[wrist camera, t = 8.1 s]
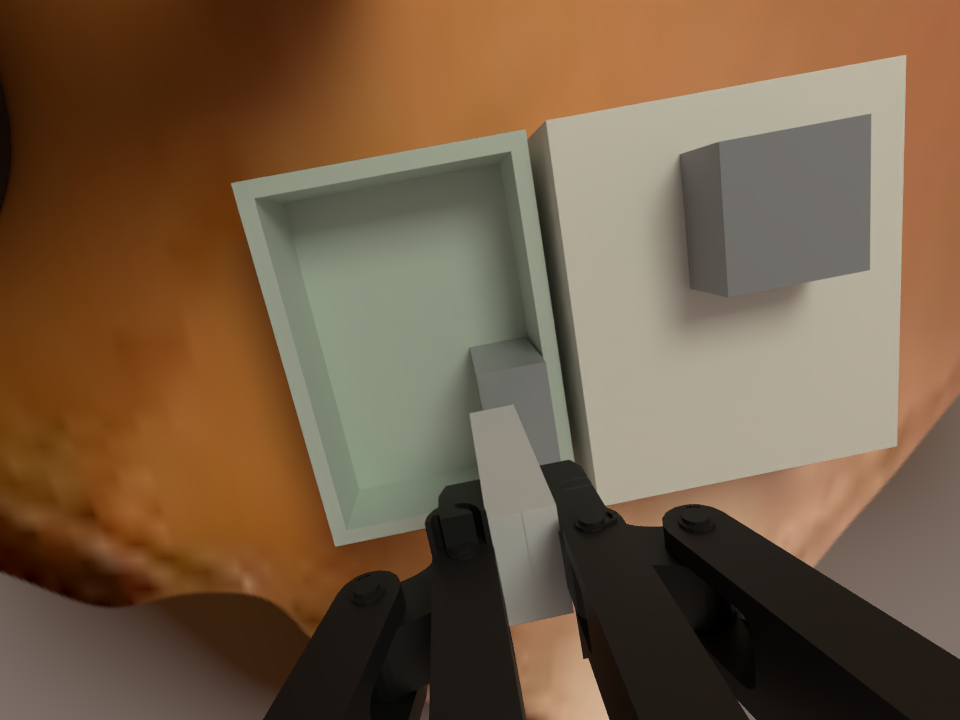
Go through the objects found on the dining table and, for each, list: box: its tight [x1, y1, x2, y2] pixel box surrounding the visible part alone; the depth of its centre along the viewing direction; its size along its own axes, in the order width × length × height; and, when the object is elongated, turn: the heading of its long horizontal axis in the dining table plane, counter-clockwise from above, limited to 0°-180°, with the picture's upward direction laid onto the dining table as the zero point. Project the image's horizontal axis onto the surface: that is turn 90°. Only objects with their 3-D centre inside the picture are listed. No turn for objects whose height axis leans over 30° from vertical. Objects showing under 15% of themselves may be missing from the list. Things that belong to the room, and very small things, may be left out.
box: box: [231, 129, 575, 547], centre depth 21 cm, size 10×14×4 cm
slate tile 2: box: [680, 114, 871, 298], centre depth 17 cm, size 4×4×2 cm
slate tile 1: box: [469, 337, 561, 466], centre depth 21 cm, size 4×4×2 cm
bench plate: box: [527, 55, 906, 506], centre depth 21 cm, size 12×14×5 cm
